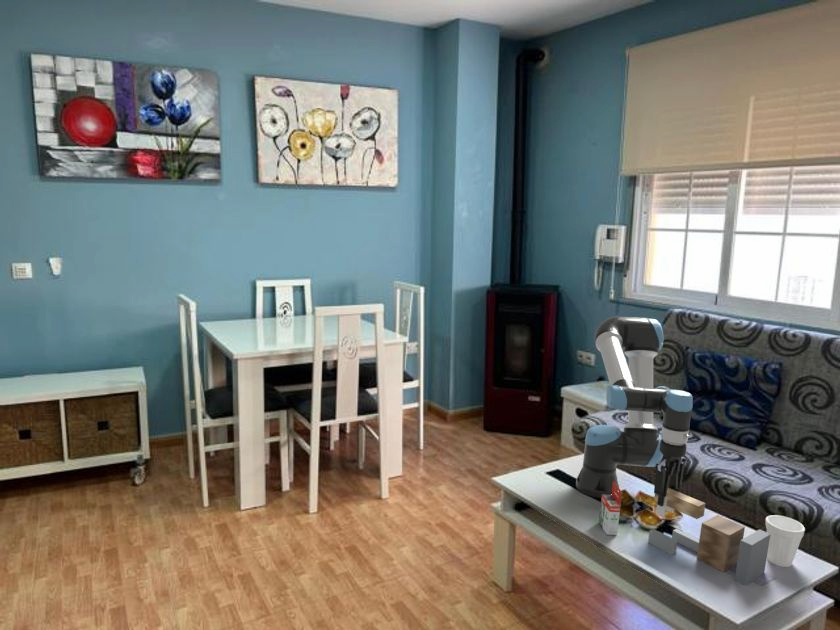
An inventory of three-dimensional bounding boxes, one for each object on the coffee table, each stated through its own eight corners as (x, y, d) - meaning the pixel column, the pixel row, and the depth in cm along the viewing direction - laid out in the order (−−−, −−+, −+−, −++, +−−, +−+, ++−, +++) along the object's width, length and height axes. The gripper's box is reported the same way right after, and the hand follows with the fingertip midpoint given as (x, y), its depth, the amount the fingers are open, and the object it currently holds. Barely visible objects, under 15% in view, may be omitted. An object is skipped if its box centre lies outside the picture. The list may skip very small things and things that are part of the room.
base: (660, 545, 186) (665, 506, 184) (679, 535, 193) (684, 497, 190) (746, 590, 166) (753, 546, 163) (765, 577, 172) (772, 534, 170)
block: (696, 558, 178) (701, 522, 176) (712, 549, 183) (717, 514, 181) (723, 572, 172) (729, 535, 170) (739, 562, 177) (744, 526, 175)
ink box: (606, 535, 190) (611, 491, 188) (597, 522, 198) (602, 480, 196) (617, 535, 191) (622, 491, 188) (608, 522, 198) (613, 480, 196)
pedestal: (647, 545, 185) (649, 530, 185) (651, 544, 187) (653, 528, 186) (671, 558, 179) (674, 542, 178) (675, 556, 180) (677, 541, 180)
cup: (752, 553, 184) (758, 513, 182) (786, 556, 184) (792, 516, 182) (770, 573, 175) (777, 531, 172) (805, 575, 174) (813, 533, 172)
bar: (653, 500, 190) (655, 488, 190) (661, 497, 193) (662, 485, 192) (696, 519, 179) (698, 506, 179) (703, 515, 182) (705, 503, 181)
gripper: (669, 450, 178) (660, 525, 182) (700, 440, 189) (690, 511, 192) (646, 442, 184) (638, 514, 188) (677, 432, 194) (668, 501, 198)
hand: (664, 512), depth 190 cm, fingers closed on bar, 4 cm apart
